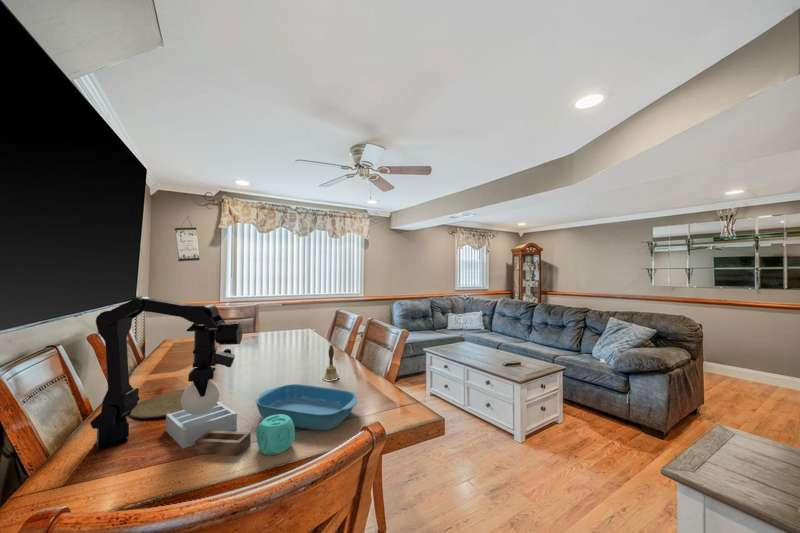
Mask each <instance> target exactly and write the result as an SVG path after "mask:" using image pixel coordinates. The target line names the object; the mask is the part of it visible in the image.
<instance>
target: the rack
mask: <svg viewBox="0 0 800 533" xmlns="http://www.w3.org/2000/svg"><path fill="white" fill-rule="evenodd" d="M237 422H238V413H237V412H236V411H234V410H232V409H231V408H229V407H228V406H226V405H225V404H223V402H222V403H221V402H220V401H218V402H217V404H216V405H215V406H214V408H212V409H211V410H210V411H208V412H207V413H204V414H201V415H192V414H189V413H187V412H186V411H185V410H182V411H179V412H175V413H172V414H170V413H169V414H166V417H165V431H166V433H168V435H169V436H170V437H171V438H172V439H173V440H174V441H175V442H176V443H177V445H179V446H180V448H182V449H183V450H184V449H187V448H189V447H192V446H195V440H197V439H198V438H200V437H201V436H202V435H204V434H205V433H206V432H208V431H209V430H213V431H236V430H237V428H238V427H237V426H238V423H237Z"/></svg>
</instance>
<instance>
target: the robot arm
mask: <svg viewBox="0 0 800 533" xmlns="http://www.w3.org/2000/svg"><path fill="white" fill-rule="evenodd" d="M143 312H148V313H154V314H160V315H166V316H172V317H179V318H182V319H184V320H186V321H188V322H190V323H192V324H191V326H190V327H188V328H187V329H186V331H187V332H194V335H193V337H194V339H193V340H194V342H193V350H192V354H193V362H192V366H191V367H192V368H193V369H191V370H190V371H189V373H188V374H187V375H188V376H187V377H188V378H187V382H189V383H194V385H195V387H196V388H197V390H198V392H199V394H200V396H201V397H204V396H205V393H206V389H207V385H208V381H209V380H214V376H215V371H216V369H217V368H216V367H215V366H217V365H220V366H225V367H227V368H231V367H232V365H233V363H234V360H235V358H236V355H235V354H234V353H232V349H230V348H228V347H227V348H225V349H224V350H220V351H219V350H218V348H217V346H216V343H217V344H219V346H222V345H223V346H226V345H227V346H229V345H240V344H241V342H242V340H243V330H242V329H243V328H242V327H241V322H234V323H233V322H232V323H231V322H230V323H227V322H226V320H224V318H223V317H222V316H221V315H220V312H219V309H218V307H217V305H214V304H209V303H208V304H206V303H205V304H204V303H202V304H201V303H199V304H198V303H197V304H194V303H193V304H187V303H182V302H175V301H171V300H170V301H169V300H166V299H165V300H163V299H158V298H154V297H153V298H152V297H149V296H137V297H134V298H132V299H131V300H129V301H128V302H125V303H123V304H121V305H119V306H116V307H114V308H112V309H110V310H105V311H102V312H101V313H99V314H98V315H97V316H96V318H95V325H96V329H97V332H98V334H99V335H100V337H101V338H102V339H103V340H104V345H105V347H104V348H105V360H106V361H105V362H106V363H105V364H106V376H107V377H106V378H107V381H106V382H107V390H106V393H105V395H104V397H103V399H102V403H101V408H100V409H101V410H100V413H99V414H97V415H96V416H95V417H94V418H93V419H92V420H91V421H90V423H89V424H90V426H91V428H92V429H93V430H95V429H96V440H95V441H94V442H95V446H96V449H97V450H98V451H102V450H104V449H107V448H111V447H115V446H117V445H121V444H123V443H127V442H128V441H129V435H130V423H129V421H128V420H127V417H128V416H129V415H130V414H131V411H132V410H133V409H134V408H135V407H136V406H137V404H138V403H139V401H140V400H141V398H140V397H139V396H140V395H139V391H140V390H139V387H134V388H133V387H132V385H131V384H130V375H129V374H130V372H129V371H130V370H129V359H128V358H129V357H128V356H129V355H128V339H127V337H128V335H129V333H130V331H131V329H132V323H133V319H135V318H137V317H138V316H140V315H141V314H142V313H143Z"/></svg>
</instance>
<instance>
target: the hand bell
mask: <svg viewBox="0 0 800 533" xmlns="http://www.w3.org/2000/svg"><path fill="white" fill-rule="evenodd" d="M334 355H335V350H334V346H333V345H331V344H330V345H329V348H328V358H329V363H328V364H329V365H328V366H327V367H326V371H325V374H324V376H323V377H322V379H323V378H324V379H327V380H332V379H336V378H338V377H340V375H339V374H338V372H337V367H336V366H335V365H334V359H333V358H334Z"/></svg>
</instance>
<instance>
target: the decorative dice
mask: <svg viewBox="0 0 800 533" xmlns="http://www.w3.org/2000/svg"><path fill="white" fill-rule="evenodd" d="M295 428H296V427H295V426H294V424H293V421H292V419H291V418H290V417H289V416H287V415H284V414H277V415H272V416H269V417H267V418H265V419H264V418H263V419H262V420H261V422H259V424H258V426H257V428H256V434H255V438H256V443H257V447H258V449H259V451H260V452H261V453H262V454H264V455H266V456H273V455H279V454H282V453H284V452H285V451H286V452H287V450H288V449H289V448H290V447H291V446H292V445H293V442H294V440H295V437H296V429H295Z"/></svg>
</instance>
